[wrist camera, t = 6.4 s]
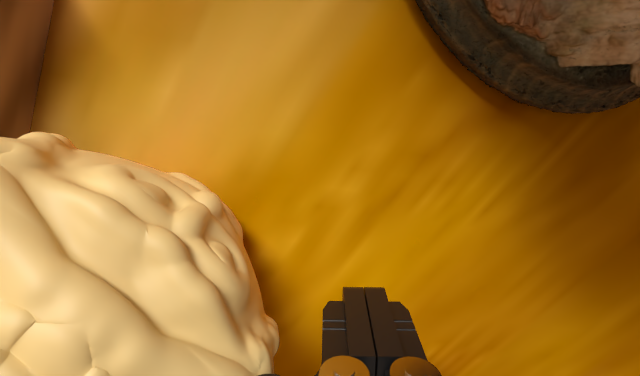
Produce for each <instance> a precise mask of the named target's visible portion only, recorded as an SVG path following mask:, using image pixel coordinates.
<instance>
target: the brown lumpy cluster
mask: <svg viewBox="0 0 640 376" xmlns="http://www.w3.org/2000/svg"><path fill="white" fill-rule="evenodd" d="M415 1H416V2H417V5H418V6H419V8H420V9H421V11H422V12H423V15H424V16H425V19H426V20H427V22H428V23H429V24H430V25H431V28H433V30H434V31H435V32H436V34H437V35H440V38H441V39H440V40H441V41H443V43H444V44H445V45H446V46H447V47H448V48H449V49H450V51H451V52H454V54H455V56H456V58H458V59H459V61H460V62H461V63H462V64H463V65H465V66H467V68H468V69H467V70H470V71H471V73H472V72H473V73H474V74H475V75H476V76H478V77H479V78H480V80H482V81H485V84H486V85H488V84H489V85H490V86H489V87H491V86H492V87H494V88H496V89H497V90H500V91H501V92H502V93H504V94H505V95H507V96H508V97H509V98H512V99H514V100H516V101H518V102H521V103H526V104H529V105H531V106H535V107H539V108H540V109H543V108H544V109H548V110H551V111H553V112H562V113H571V114H572V113H573V114H574V113H591V112H600V111H604V110H608V109H612V108H617V107H619V106H621V105H625V104H626V103H628V102H631V101H633V100H636V99H638V98H639V97H640V0H415ZM463 65H462V66H463ZM529 105H528V106H529Z"/></svg>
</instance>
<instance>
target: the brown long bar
mask: <svg viewBox="0 0 640 376" xmlns="http://www.w3.org/2000/svg"><path fill="white" fill-rule="evenodd" d="M53 5H54V0H0V137H6V138H13V139H17V138H19V137H21V136H23V135H25V134H28V133H30V128H31V123H32V117H33V112H34V107H35V101H36V96H37V91H38V85H39V80H40V75H41V69H42V64H43V59H44V53H45V48H46V43H47V37H48V32H49V27H50V21H51V16H52V11H53Z"/></svg>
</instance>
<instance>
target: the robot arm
mask: <svg viewBox="0 0 640 376" xmlns="http://www.w3.org/2000/svg"><path fill="white" fill-rule="evenodd" d="M258 376H280V375H277V374H262V375H258ZM315 376H441V374H440V372H439V370H438V369H437V368H436V367H435V366H434V365H433V364H431V363H430V362H428V361H427V358H426V356H425V353H424V350H423V348H422V345H421V342H420V340H419V337H418V334H417V332H416V331H415V326H414V324H413V322H412V318H411V316H410V313H409V311H408V310H407V309H406V308H405V307H404V306H403V305H402V304H401V303H400V302H388V299H387V295H386V292H385V289H384V288H381V287H364V289H363V287H343V301H329V302H328V303H327V305H326V306H325V307H324V309H323V334H322V365H321V367H320V369H319V371H318V372H317V374H316V375H315Z"/></svg>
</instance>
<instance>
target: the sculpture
mask: <svg viewBox="0 0 640 376" xmlns="http://www.w3.org/2000/svg"><path fill="white" fill-rule="evenodd" d="M278 333H279V330H278V325H277V323H276V322H275V321H274V320H273V319H272V318H271V317H269V316H267V315H266V313H265V311H264V306H263V300H262V296H261V292H260V288H259V285H258V281H257V278H256V275H255V272H254V269H253V267H252V264H251V261H250V259H249V256H248V254H247V252H246V250H245V247H244V245H243V230H242V227H241V225H240V223H239V222H238V220H237V219H236V217H235V215H234V214H233V212H232V211H231V210H230V208H229V207H228V206H227V205H225V204H224V203H223V202H222V201H221V199H220V198H219V197H218V196H217V195H216V194H215V193H213V192H211V191H210V190H209V189H208V188H207V187H206V186H205V185H204V184H202V183H200V182H199V181H197V180H195V179H193V178H191V177H190V176H188V175H186V174H183V173H175V172H174V173H167V172H162V171H159V170H157V169H154V168H151V167H148V166H145V165H142V164H139V163H136V162H133V161H130V160H126V159H123V158H119V157H115V156H111V155H107V154H103V153H98V152H92V151H85V150H80V149H77V148H76V147H75V146H74V145H73V144H72V143H71V141H70V140H69V139H67V138H66V137H64V136H62V135H59V134H54V133H46V132H31V133H28V134H25V135H23V136H21V137H19V138H17V139H13V138H6V137H0V376H258V375H262V374H274V362H273V357H274V355H275V354H276V352H277V350H278V347H279V334H278Z"/></svg>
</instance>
